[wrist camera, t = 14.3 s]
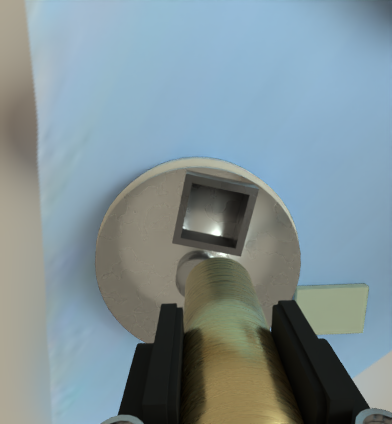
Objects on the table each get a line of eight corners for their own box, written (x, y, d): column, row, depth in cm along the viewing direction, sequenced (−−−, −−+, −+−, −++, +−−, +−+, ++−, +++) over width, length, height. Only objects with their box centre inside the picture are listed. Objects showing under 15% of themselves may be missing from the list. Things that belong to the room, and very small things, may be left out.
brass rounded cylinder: (180, 261, 14) (156, 502, 5) (249, 253, 13) (347, 483, 5) (190, 319, 14) (184, 607, 6) (254, 312, 14) (345, 594, 6)
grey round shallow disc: (114, 145, 25) (100, 147, 22) (321, 189, 27) (342, 198, 23) (89, 328, 30) (74, 356, 26) (265, 358, 31) (275, 389, 28)
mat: (364, 283, 33) (369, 287, 32) (359, 328, 35) (362, 332, 34) (295, 286, 33) (297, 289, 32) (292, 331, 35) (294, 335, 34)
